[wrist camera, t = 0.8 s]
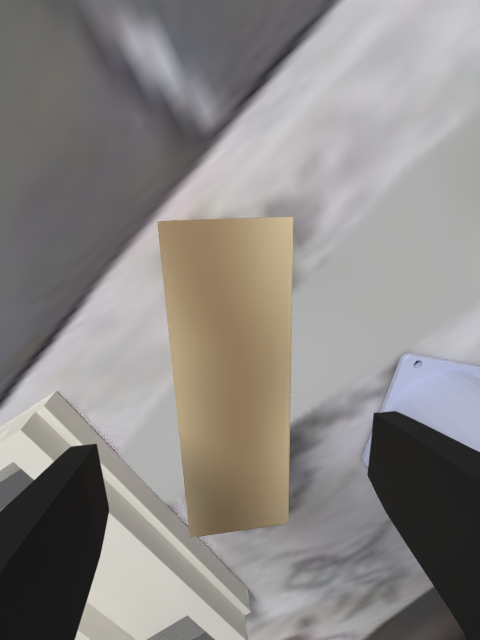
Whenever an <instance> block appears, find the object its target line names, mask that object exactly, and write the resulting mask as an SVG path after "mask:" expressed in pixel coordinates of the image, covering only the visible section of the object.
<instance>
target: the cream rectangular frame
mask: <svg viewBox="0 0 480 640" xmlns="http://www.w3.org/2000/svg"><path fill="white" fill-rule="evenodd" d="M89 444H97V448H98V453H99V458H100V463H101V469H102V474H103V479H104V484H105V489H106V494H107V500H108V505H109V514H108V520H107V525H106V531H105V536H104V541H103V546H102V551H101V555H100V559H99V562H98V566H97V569H96V572H95V576H94V579H93V582H92V585H91V589H90V592H89V595H88V599H87V602H86V605H85V608H84V612H83V615H82V618H81V621H80V624H79V628H78V631H77V634H76V637H75V640H248V636H247V628H246V620H245V615H247V614H249V613H250V612H251V608H250V601H249V594H248V589H247V588H246V586H245V585H244V584H243V583H242V582H241V581H240V580H239V579H238V578H237V577H236V576H235V575H234V574H233V573H232V572H231V571H230V570H229V569H228V568H227V567H226V566H225V565H224V564H223V563H222V562H221V561H220V560H219V559H218V558H217V557H216V556H215V554H214V553H213V552H212V551H211V550H210V549H209V548H208V547H207V546H206V545H205V544H204V543H203V542H202V541H201V540H200V539H199V538H198V537H193V538H190V533H189V528H188V527H187V526H186V525H185V524H184V523H183V521H182V520H181V519H180V518H179V517H178V516H177V515H176V514H175V513H174V512H173V511H172V510H171V509H170V508H169V507H168V506H167V505H166V504H165V503H164V502H163V501H162V500H161V499H160V498H159V497H158V496H157V495H156V494H155V493H154V492H153V491H152V489H151V488H149V486H148V485H146V483H145V482H144V481H143V480H142V479H141V478H140V477H139V476H138V475H137V474H136V473H135V472H134V471H133V470H132V469H131V468H130V467H129V466H128V465H127V464H126V463H125V462H124V461H123V460H122V459H121V457H120V456H119V455H118V454H117V453H116V452H115V451H114V450H113V449H112V448H111V447H110V446H109V445H108V444H107V443H106V442H105V441H104V440H103V439H102V438H101V437H100V436H99V435H98V434H97V433H96V432H95V431H94V430H93V429H92V428H91V427H90V426H89V424H88V423H87V422H86V421H85V420H84V419H83V418H82V417H81V416H80V415H79V414H78V413H77V412H76V411H75V410H74V409H73V408H72V407H71V406H70V405H69V404H68V403H67V402H66V401H65V400H64V399H63V398H62V397H61V396H60V395H59V394H58V392H57V391H55V392H54V393H52V394H50V395H49V396H47V397H46V398H44V399H43V400H41V401H40V402H38V403H37V404H35V405H33V406H32V407H30V408H29V409H27V410H26V411H24V412H23V413H21V414H19V415H18V416H16V417H15V418H13V419H12V420H10V421H9V422H7V423H6V424H4V425H2V426H1V427H0V511H1V510H2V509H4V508H5V507H6V506H7V505H8V504H9V503H10V502H11V501H12V500H13V499H14V498H15V497H17V496H18V495H19V494H20V493H21V492H22V491H23V490H24V489H25V488H26V487H27V486H28V485H30V484H31V483H32V482H33V481H34V480H35V479H36V478H37V477H38V476H39V475H40V474H41V473H42V472H43V471H44V470H45V469H47V468H48V467H49V466H50V465H51V464H52V463H53V462H54V461H55V460H56V459H57V458H58V457H59V456H60V455H62V454H63V453H64V452H65V451H66V450H67V449H68V448H70V447H71V446H80V445H89Z"/></svg>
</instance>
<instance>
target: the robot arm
mask: <svg viewBox="0 0 480 640" xmlns="http://www.w3.org/2000/svg"><path fill="white" fill-rule="evenodd" d="M416 361H418V362H417V364H416V365H414V363H415V362H416ZM362 462H363V463H364V464H365V465H366V466H367V467H368V477H369V479H370V481H371V483H372V485H373V487H374V489H375V492H376V494H377V496H378V498H379V499H380V501H381V503H382V505H383V507H384V509H385V511H386V513H387V514H388V516H389V518H390V519H391V521H392V522H393V524H394V525H395V527H396V529H397V530H398V532H399V533H400V535H401V536H402V538H403V539H404V541H405V542H406V544H407V546H408V547H409V549H410V550H411V552H412V553H413V555H414V556H415V558H416V559H417V561H418V562H419V564H420V565H421V567H422V568H423V570H424V571H425V573H426V574H427V576H428V577H429V579H430V580H431V582H432V583H433V585H434V587H435V588H436V590H437V591H438V593H439V594H440V596H441V597H442V599H443V600H444V602H445V603H446V605H447V606H448V608H449V609H450V611H451V613H452V614H453V616H454V617H455V619H456V621H457V622H458V624H459V626H460V627H461V629H462V630H463V632H464V634H465V635H466V637H467V639H468V640H480V366H477V365H471V364H466V363H461V362H455V361H450V360H444V359H439V358H434V357H428V356H423V355H418V354H412V353H406V354H404V355H403V356H402V357H401V358H400V360H399V363H398V365H397V368H396V371H395V373H394V376H393V378H392V381H391V383H390V386H389V389H388V391H387V394H386V396H385V399H384V401H383V404H382V407H381V409H380V412H379V413H374V418H373V428H372V432H371V435H370V438H369V440H368V443H367V445H366V448H365V450H364V453H363V456H362ZM108 514H109V505H108V500H107V494H106V489H105V484H104V479H103V474H102V469H101V463H100V458H99V453H98V448H97V444H89V445H80V446H71V447H70V448H68V449H67V450H66V451H65V452H64V453H63V454H62V455H60V456H59V457H58V458H57V459H56V460H55V461H54V462H53V463H52V464H51V465H50V466H49V467H48V468H47V469H45V470H44V471H43V472H42V473H41V474H40V475H39V476H38V477H37V478H36V479H35V480H34V481H33V482H32V483H31V484H30V485H28V486H27V487H26V488H25V489H24V490H23V491H22V492H21V493H20V494H19V495H18V496H17V497H15V498H14V499H13V500H12V501H11V502H10V503H9V504H8V505H7V506H6V507H5V508H4V509H2V510H1V511H0V640H75V637H76V634H77V631H78V628H79V624H80V621H81V618H82V615H83V612H84V608H85V605H86V602H87V599H88V595H89V592H90V589H91V585H92V582H93V579H94V576H95V572H96V569H97V566H98V562H99V559H100V555H101V551H102V546H103V541H104V536H105V531H106V525H107V520H108Z"/></svg>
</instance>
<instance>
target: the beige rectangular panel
mask: <svg viewBox="0 0 480 640" xmlns="http://www.w3.org/2000/svg"><path fill="white" fill-rule="evenodd" d="M158 232H159V241H160V251H161V261H162V270H163V280H164V290H165V300H166V309H167V319H168V329H169V338H170V348H171V358H172V368H173V377H174V387H175V397H176V406H177V416H178V426H179V436H180V445H181V455H182V465H183V475H184V484H185V494H186V504H187V513H188V523H189V533H190V538H193V537H199V536H206V535H213V534H220V533H226V532H233V531H240V530H247V529H253V528H260V527H267V526H274V525H280V524H287V523H288V510H289V447H290V382H291V322H292V260H293V217H268V218H230V219H200V220H172V221H160V222H158Z"/></svg>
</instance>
